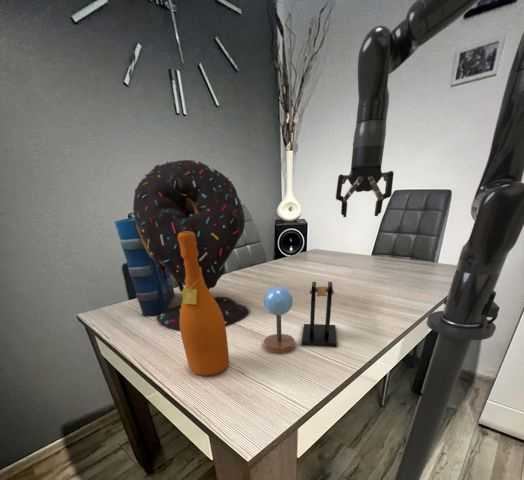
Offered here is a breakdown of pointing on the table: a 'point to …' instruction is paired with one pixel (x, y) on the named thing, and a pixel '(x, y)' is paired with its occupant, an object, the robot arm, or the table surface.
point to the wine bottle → (200, 316)
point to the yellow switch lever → (321, 290)
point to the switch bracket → (319, 332)
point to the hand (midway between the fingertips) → (360, 216)
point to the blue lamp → (278, 319)
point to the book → (144, 271)
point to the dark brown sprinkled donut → (190, 225)
